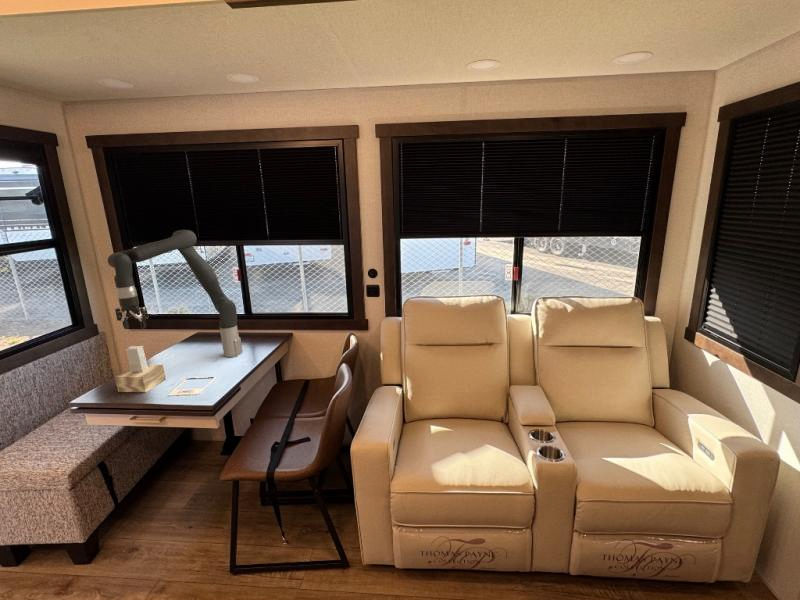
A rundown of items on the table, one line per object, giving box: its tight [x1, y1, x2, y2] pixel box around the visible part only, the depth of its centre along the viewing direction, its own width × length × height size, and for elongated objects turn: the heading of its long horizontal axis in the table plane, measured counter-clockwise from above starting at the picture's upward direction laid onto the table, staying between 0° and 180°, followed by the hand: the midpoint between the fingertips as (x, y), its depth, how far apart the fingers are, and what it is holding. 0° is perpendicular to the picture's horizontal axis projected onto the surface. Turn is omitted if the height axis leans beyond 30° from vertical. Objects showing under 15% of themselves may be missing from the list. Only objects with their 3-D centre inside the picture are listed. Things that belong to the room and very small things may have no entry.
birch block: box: [114, 364, 167, 393], centre depth 190 cm, size 14×14×8 cm
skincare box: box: [124, 345, 149, 372], centre depth 187 cm, size 6×4×12 cm
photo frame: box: [167, 376, 217, 397], centre depth 188 cm, size 15×1×18 cm
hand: (135, 328), depth 187 cm, fingers open, 8 cm apart
